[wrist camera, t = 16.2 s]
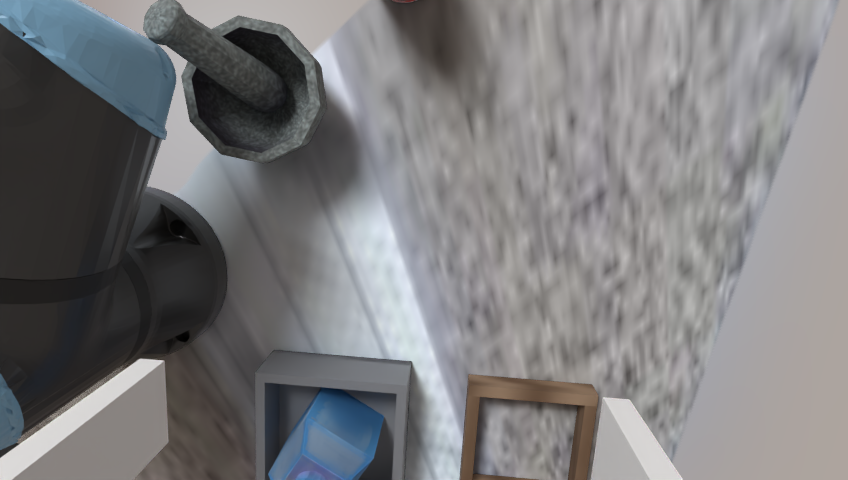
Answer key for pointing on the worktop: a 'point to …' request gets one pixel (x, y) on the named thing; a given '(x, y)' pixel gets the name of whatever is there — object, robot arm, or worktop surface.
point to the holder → (531, 392)
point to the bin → (360, 377)
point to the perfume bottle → (330, 440)
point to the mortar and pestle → (243, 82)
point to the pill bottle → (404, 1)
